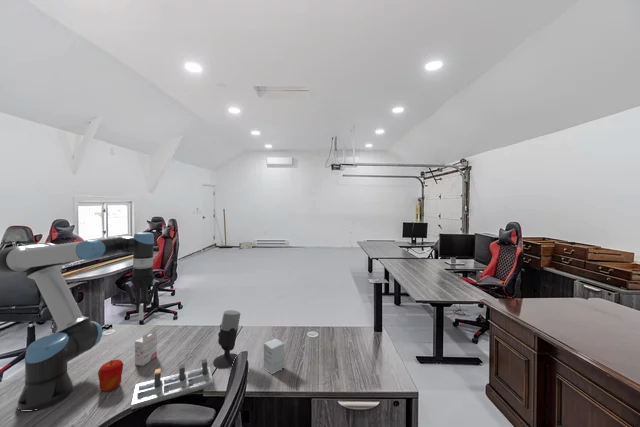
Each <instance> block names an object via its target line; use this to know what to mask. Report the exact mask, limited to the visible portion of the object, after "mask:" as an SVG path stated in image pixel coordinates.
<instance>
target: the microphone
mask: <svg viewBox="0 0 640 427" xmlns="http://www.w3.org/2000/svg"><path fill="white" fill-rule="evenodd" d="M240 319H241V312H240V311H237V310H225V311H224V312H223V315H222V320H221V324H220V325H219V332H218V333H217V335H218V341H217V342H218V344H219V346H220V347H221V349H222V350H223V351H224V352H223V353H224V354H220V355H219V356H217V357H216V358H214V360H213V362H212V365H213V367H214V368H216V369H220V370H225V368H227V369H230V368H233V367H232V364H233V361H234V359H235V357H236V356H237V355H238V354H236V353H234V352H233V353H231V351H232V350H234V348H235V345H236V340H237V334H238V329H239V324H240Z"/></svg>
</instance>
